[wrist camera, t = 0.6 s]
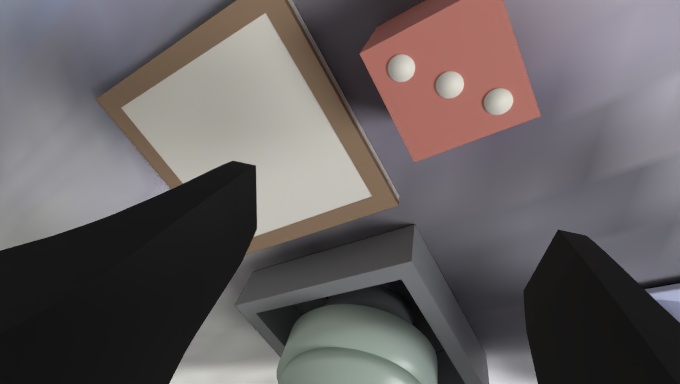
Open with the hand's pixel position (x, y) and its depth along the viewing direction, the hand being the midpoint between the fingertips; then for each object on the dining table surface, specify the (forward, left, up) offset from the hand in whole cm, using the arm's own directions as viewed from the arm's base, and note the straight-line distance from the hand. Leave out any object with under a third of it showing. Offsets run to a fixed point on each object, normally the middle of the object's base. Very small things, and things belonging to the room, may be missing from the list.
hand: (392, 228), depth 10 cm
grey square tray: (-13, +9, -10) cm, 19 cm away
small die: (+1, -2, -10) cm, 10 cm away
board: (+1, +9, -10) cm, 14 cm away
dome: (-13, +9, -7) cm, 17 cm away
